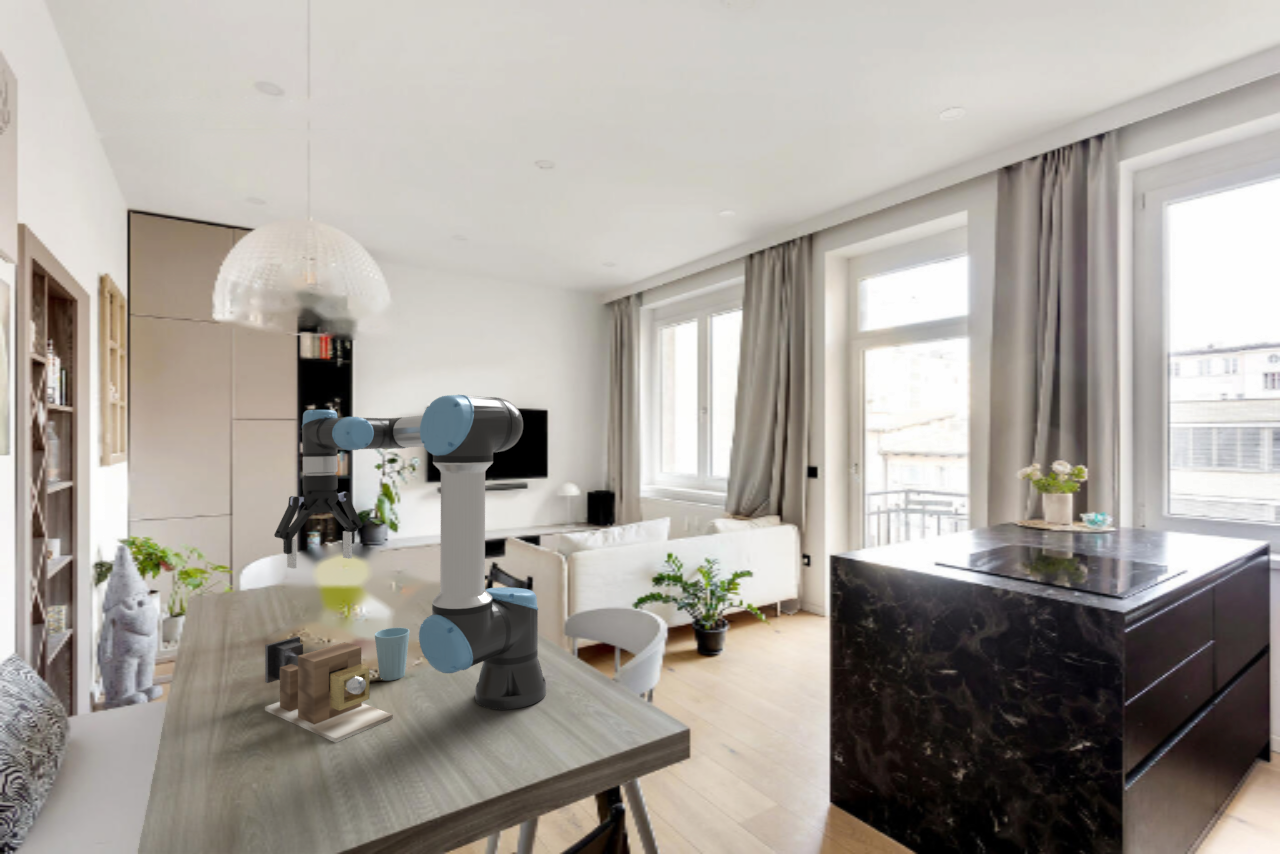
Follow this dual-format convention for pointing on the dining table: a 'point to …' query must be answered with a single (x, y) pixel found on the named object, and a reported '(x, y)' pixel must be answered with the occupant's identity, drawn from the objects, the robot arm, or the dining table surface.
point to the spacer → (338, 687)
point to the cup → (392, 652)
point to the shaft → (288, 654)
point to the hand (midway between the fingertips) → (320, 562)
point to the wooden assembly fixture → (323, 695)
